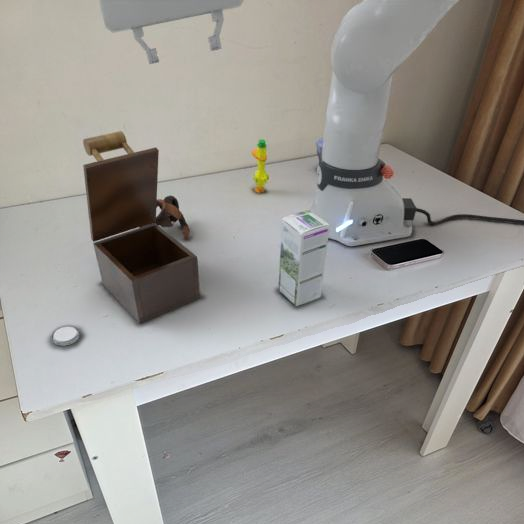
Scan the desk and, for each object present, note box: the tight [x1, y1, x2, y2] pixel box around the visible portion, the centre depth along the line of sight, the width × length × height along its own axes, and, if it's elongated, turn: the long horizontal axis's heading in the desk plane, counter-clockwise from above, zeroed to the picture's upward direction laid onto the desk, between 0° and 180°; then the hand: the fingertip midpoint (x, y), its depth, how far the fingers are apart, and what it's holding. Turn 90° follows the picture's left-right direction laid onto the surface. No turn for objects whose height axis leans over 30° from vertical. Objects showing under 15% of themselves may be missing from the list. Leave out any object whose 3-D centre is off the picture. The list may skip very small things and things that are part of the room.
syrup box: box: [278, 210, 330, 307], centre depth 81 cm, size 6×6×14 cm
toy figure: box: [251, 139, 270, 194], centre depth 112 cm, size 7×4×12 cm, turn 27°
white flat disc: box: [51, 325, 80, 346], centre depth 76 cm, size 4×4×1 cm
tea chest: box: [93, 223, 201, 324], centre depth 83 cm, size 14×12×8 cm
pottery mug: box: [138, 195, 191, 241], centre depth 99 cm, size 12×10×8 cm
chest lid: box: [82, 130, 160, 243], centre depth 79 cm, size 15×12×7 cm
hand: (185, 56), depth 72 cm, fingers open, 8 cm apart
